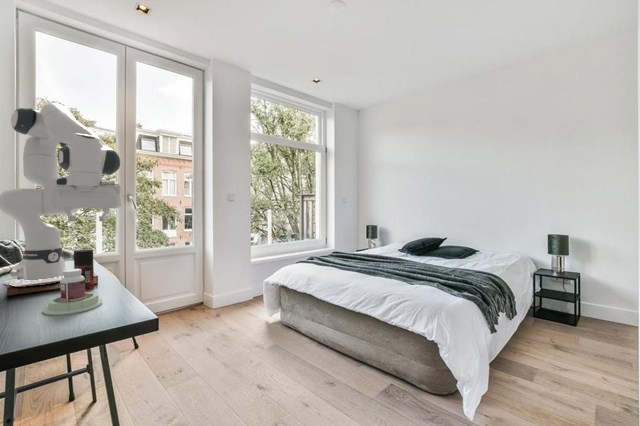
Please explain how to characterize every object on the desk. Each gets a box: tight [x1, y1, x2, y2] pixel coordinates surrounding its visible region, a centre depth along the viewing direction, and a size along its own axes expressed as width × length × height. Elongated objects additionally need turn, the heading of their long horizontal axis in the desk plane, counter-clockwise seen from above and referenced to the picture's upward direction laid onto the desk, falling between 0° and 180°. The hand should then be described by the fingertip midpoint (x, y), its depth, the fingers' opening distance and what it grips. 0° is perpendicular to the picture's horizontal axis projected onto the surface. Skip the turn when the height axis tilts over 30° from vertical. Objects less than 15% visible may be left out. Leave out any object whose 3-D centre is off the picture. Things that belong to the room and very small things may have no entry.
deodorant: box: [73, 248, 95, 292], centre depth 122 cm, size 6×6×15 cm
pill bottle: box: [59, 268, 86, 303], centre depth 101 cm, size 6×6×11 cm
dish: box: [42, 291, 103, 316], centre depth 101 cm, size 15×15×3 cm
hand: (87, 221), depth 110 cm, fingers open, 8 cm apart
